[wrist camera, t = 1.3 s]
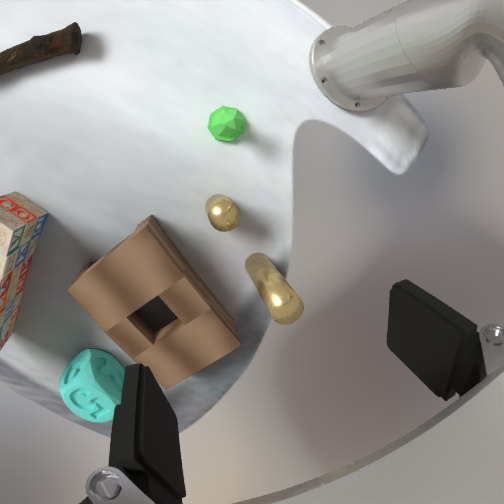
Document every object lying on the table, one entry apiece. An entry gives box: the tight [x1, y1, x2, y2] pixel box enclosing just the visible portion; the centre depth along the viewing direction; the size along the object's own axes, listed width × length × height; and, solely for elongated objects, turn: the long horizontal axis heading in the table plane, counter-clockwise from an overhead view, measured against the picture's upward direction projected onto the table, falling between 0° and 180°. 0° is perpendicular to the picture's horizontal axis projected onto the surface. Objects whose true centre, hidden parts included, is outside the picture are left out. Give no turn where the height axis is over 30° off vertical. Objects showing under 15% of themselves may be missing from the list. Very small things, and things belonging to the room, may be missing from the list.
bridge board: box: [67, 215, 242, 389], centre depth 34 cm, size 12×18×6 cm, turn 32°
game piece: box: [208, 106, 245, 142], centre depth 30 cm, size 4×4×6 cm
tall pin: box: [245, 253, 304, 325], centre depth 33 cm, size 3×3×12 cm
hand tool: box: [0, 22, 82, 75], centre depth 20 cm, size 19×4×5 cm, turn 89°
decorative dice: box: [59, 349, 125, 422], centre depth 35 cm, size 8×8×8 cm
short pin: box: [206, 194, 240, 232], centre depth 33 cm, size 3×3×5 cm
